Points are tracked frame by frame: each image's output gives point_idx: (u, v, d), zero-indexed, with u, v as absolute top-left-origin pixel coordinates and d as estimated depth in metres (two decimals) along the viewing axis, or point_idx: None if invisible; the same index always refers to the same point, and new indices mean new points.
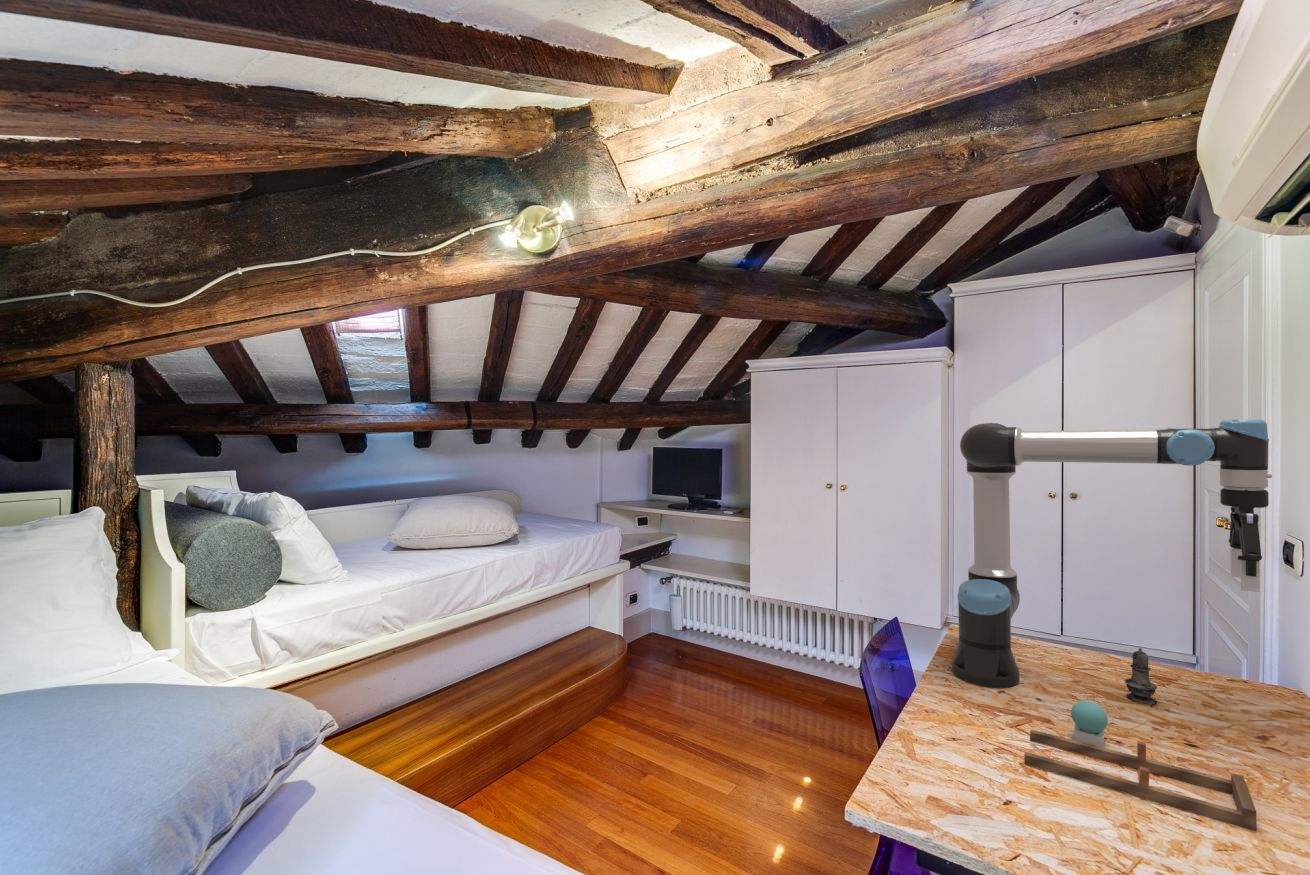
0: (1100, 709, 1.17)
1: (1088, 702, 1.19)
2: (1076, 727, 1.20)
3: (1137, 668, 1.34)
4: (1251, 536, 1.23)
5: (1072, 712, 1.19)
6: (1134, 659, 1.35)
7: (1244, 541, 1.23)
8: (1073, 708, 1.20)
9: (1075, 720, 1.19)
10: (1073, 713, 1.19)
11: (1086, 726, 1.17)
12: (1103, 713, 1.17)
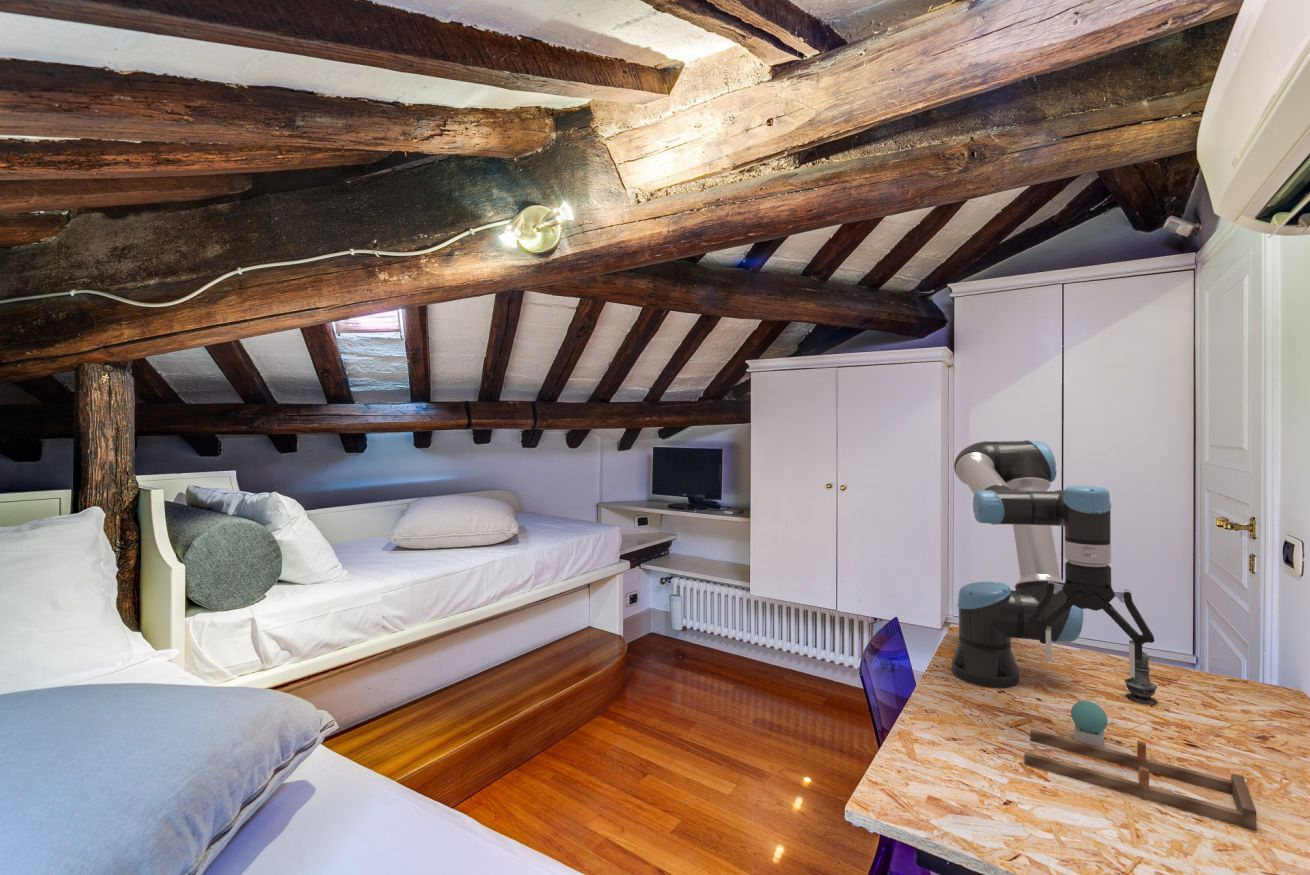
0: (1100, 709, 1.17)
1: (1088, 702, 1.19)
2: (1076, 727, 1.20)
3: (1137, 668, 1.34)
4: (1039, 602, 1.23)
5: (1072, 712, 1.19)
6: (1135, 659, 1.35)
7: None
8: (1073, 708, 1.20)
9: (1075, 720, 1.19)
10: (1073, 713, 1.19)
11: (1086, 726, 1.17)
12: (1103, 713, 1.17)
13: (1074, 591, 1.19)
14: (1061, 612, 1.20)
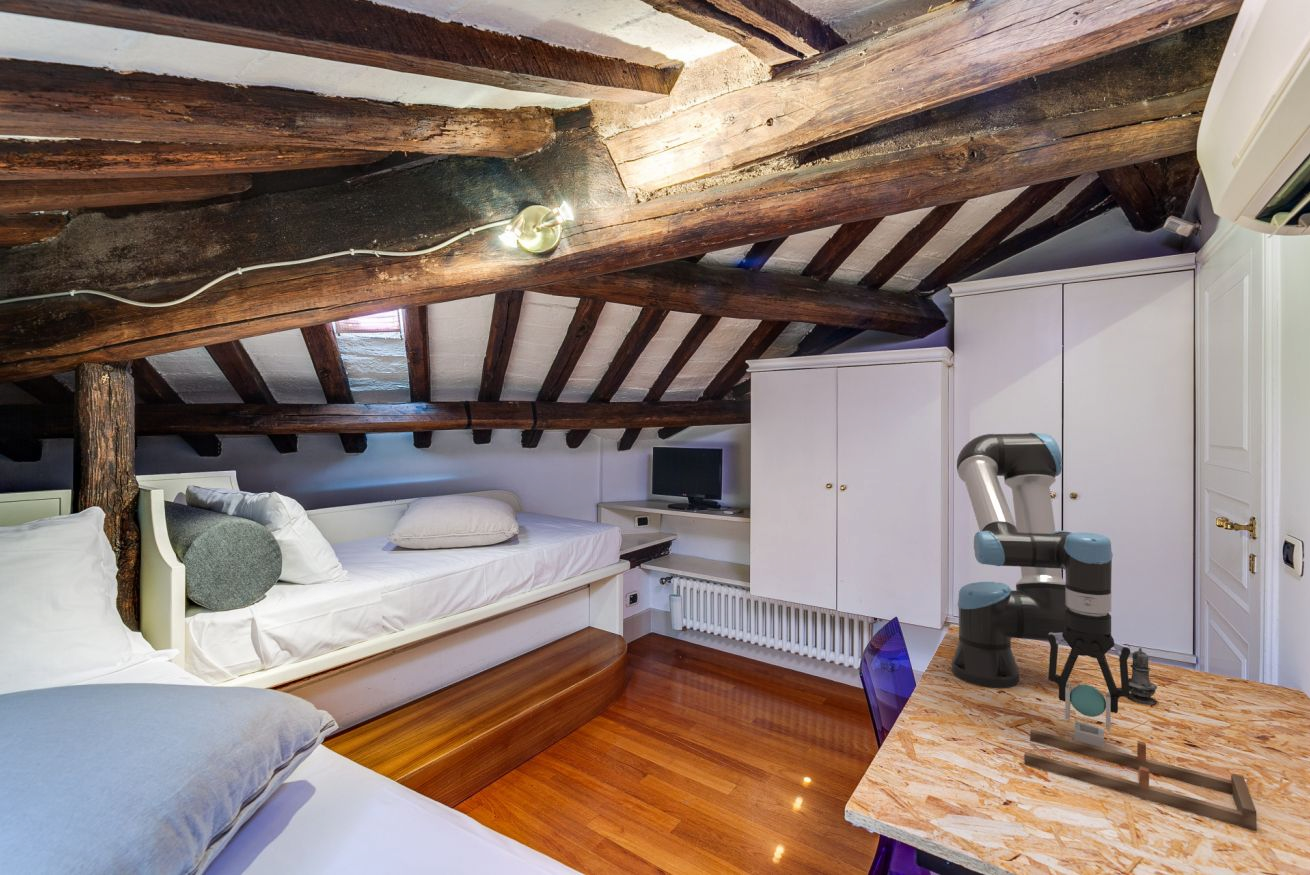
0: (1099, 693, 1.18)
1: (1087, 686, 1.19)
2: (1076, 727, 1.20)
3: (1137, 668, 1.34)
4: None
5: (1071, 696, 1.20)
6: (1134, 659, 1.35)
7: None
8: (1072, 692, 1.20)
9: (1074, 704, 1.19)
10: (1072, 697, 1.20)
11: (1085, 710, 1.17)
12: (1102, 697, 1.17)
13: (1074, 636, 1.19)
14: (1072, 664, 1.20)
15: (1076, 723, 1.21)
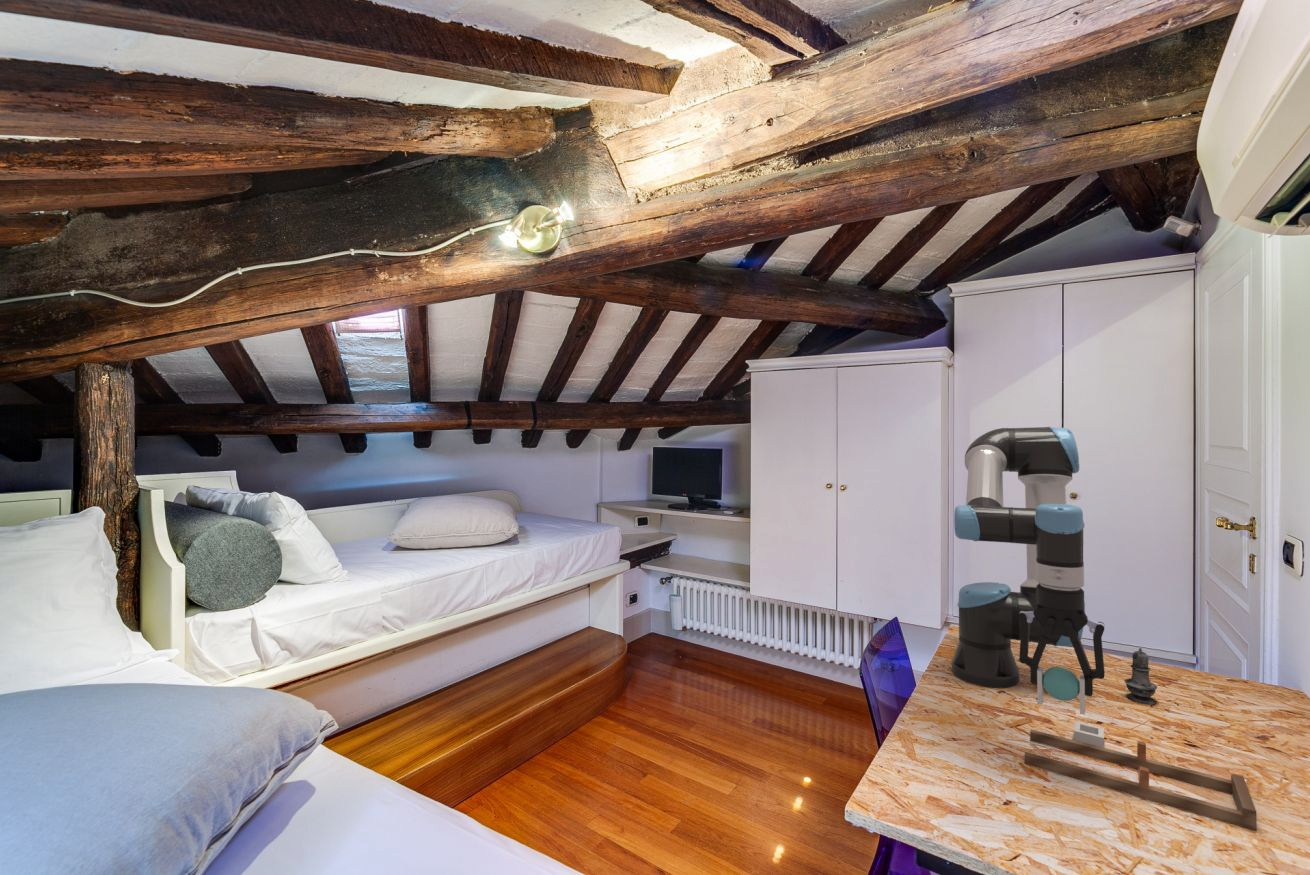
0: (1072, 675, 1.10)
1: (1060, 668, 1.11)
2: (1076, 727, 1.20)
3: (1137, 668, 1.34)
4: None
5: (1043, 679, 1.12)
6: (1134, 659, 1.35)
7: None
8: (1044, 674, 1.12)
9: (1046, 687, 1.11)
10: (1044, 680, 1.12)
11: (1057, 693, 1.09)
12: (1075, 679, 1.09)
13: (1045, 614, 1.12)
14: (1044, 644, 1.12)
15: (1076, 723, 1.21)
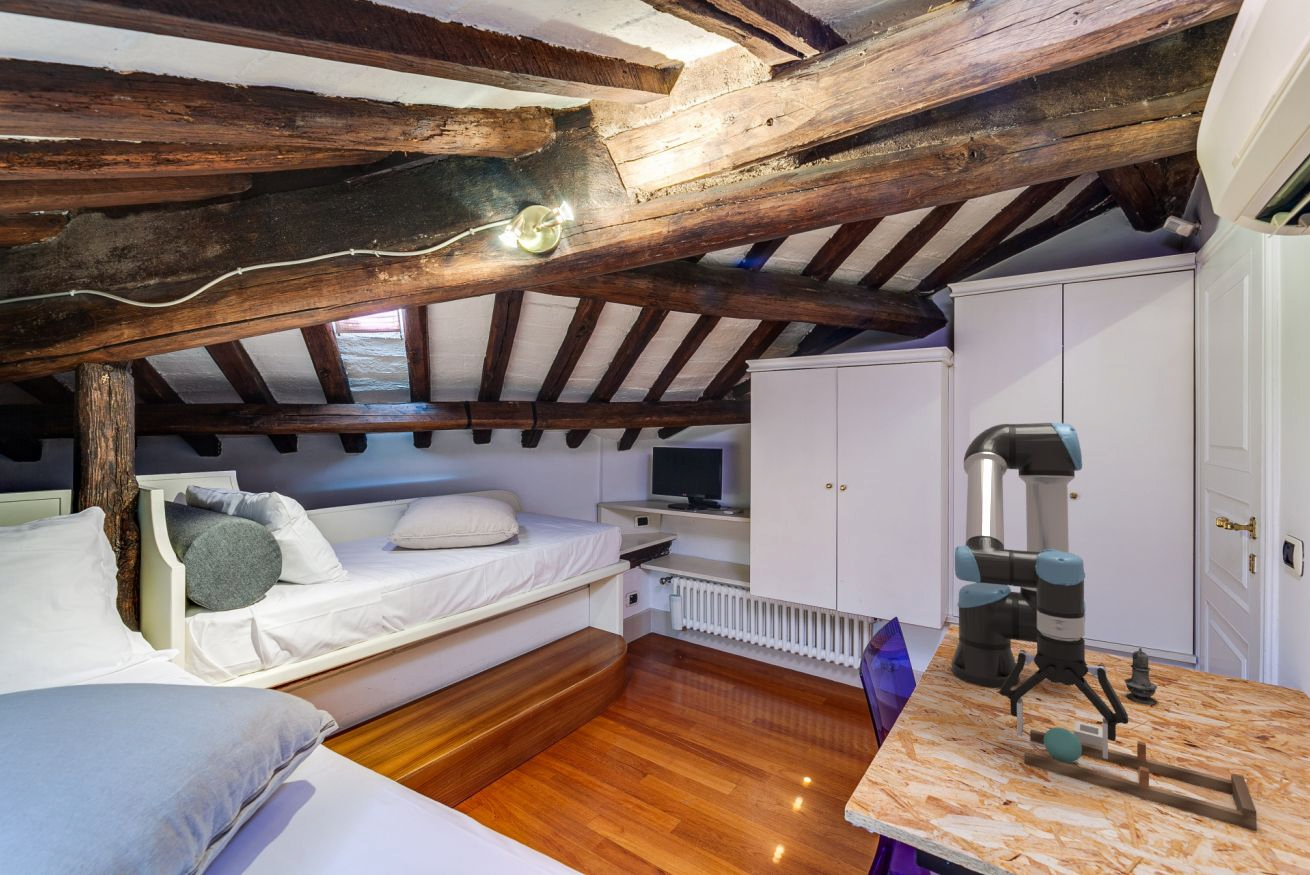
0: (1075, 738, 1.10)
1: (1062, 730, 1.11)
2: (1076, 727, 1.20)
3: (1137, 668, 1.34)
4: (1011, 672, 1.17)
5: (1045, 739, 1.12)
6: (1134, 659, 1.35)
7: None
8: (1046, 735, 1.12)
9: (1047, 748, 1.11)
10: (1046, 740, 1.12)
11: (1059, 756, 1.10)
12: (1077, 742, 1.09)
13: (1046, 664, 1.12)
14: (1033, 685, 1.14)
15: (1076, 723, 1.21)
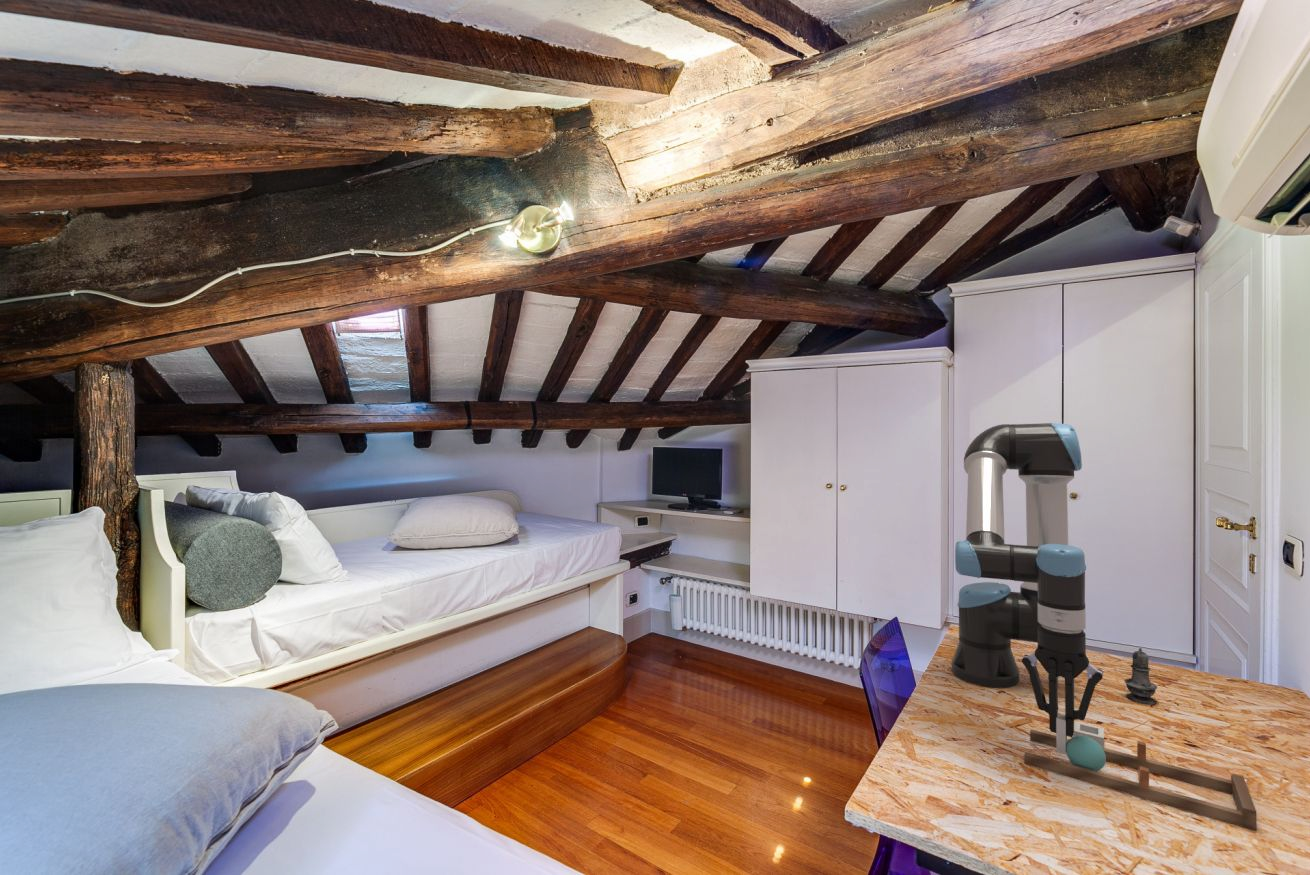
0: (1104, 764, 1.06)
1: (1101, 753, 1.06)
2: (1076, 727, 1.20)
3: (1137, 668, 1.34)
4: None
5: (1077, 744, 1.08)
6: (1134, 659, 1.35)
7: None
8: (1082, 743, 1.07)
9: (1071, 749, 1.08)
10: (1077, 746, 1.07)
11: (1074, 762, 1.08)
12: (1102, 767, 1.06)
13: (1046, 654, 1.12)
14: (1054, 689, 1.11)
15: (1076, 723, 1.21)
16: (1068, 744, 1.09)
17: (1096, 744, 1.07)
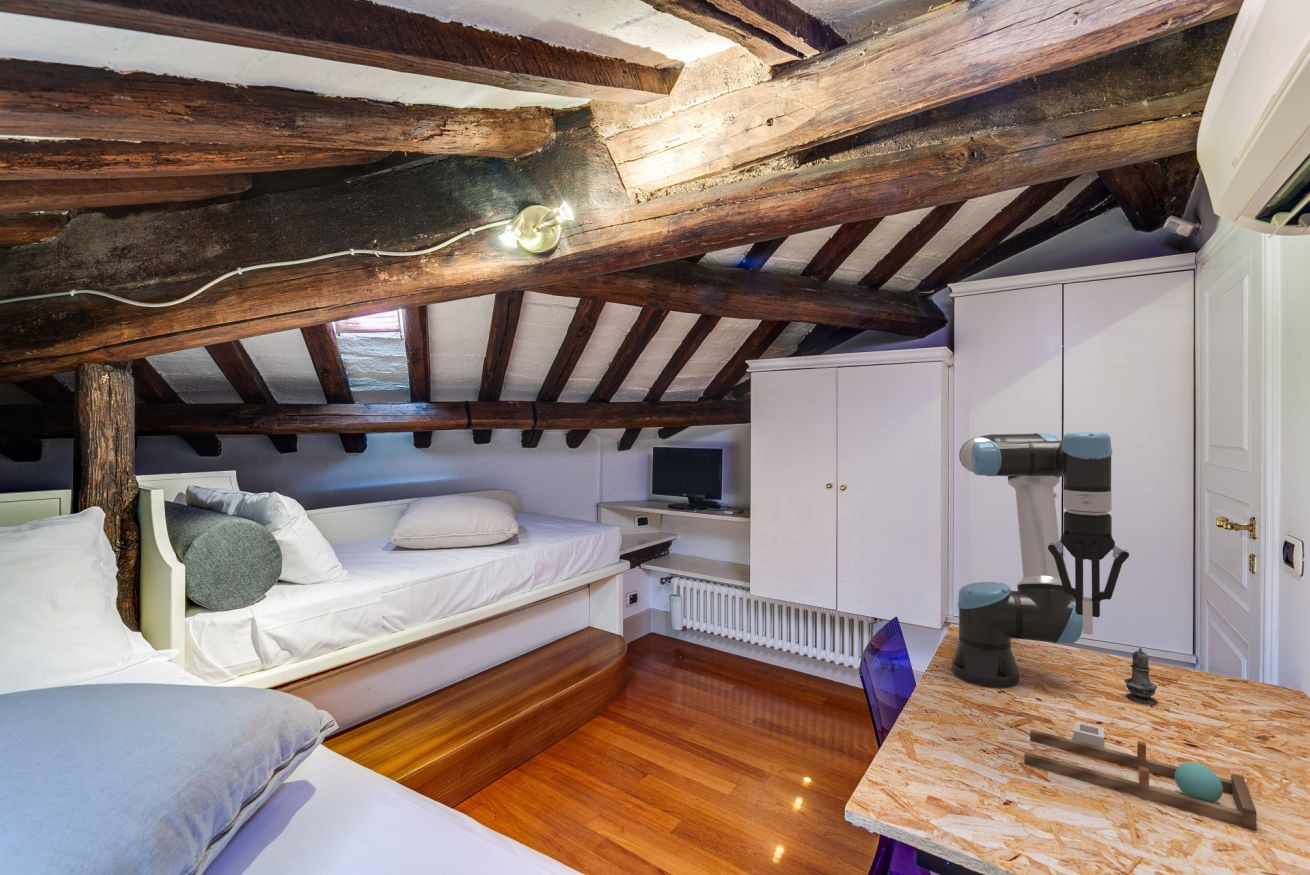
0: (1202, 768, 0.98)
1: (1186, 768, 0.99)
2: (1076, 727, 1.20)
3: (1137, 668, 1.34)
4: None
5: (1184, 791, 0.99)
6: (1134, 659, 1.35)
7: None
8: (1181, 785, 0.99)
9: (1195, 798, 0.98)
10: (1186, 792, 0.98)
11: (1211, 799, 0.96)
12: (1208, 770, 0.98)
13: (1072, 538, 1.14)
14: (1080, 571, 1.13)
15: (1076, 723, 1.21)
16: None
17: (1178, 770, 1.00)
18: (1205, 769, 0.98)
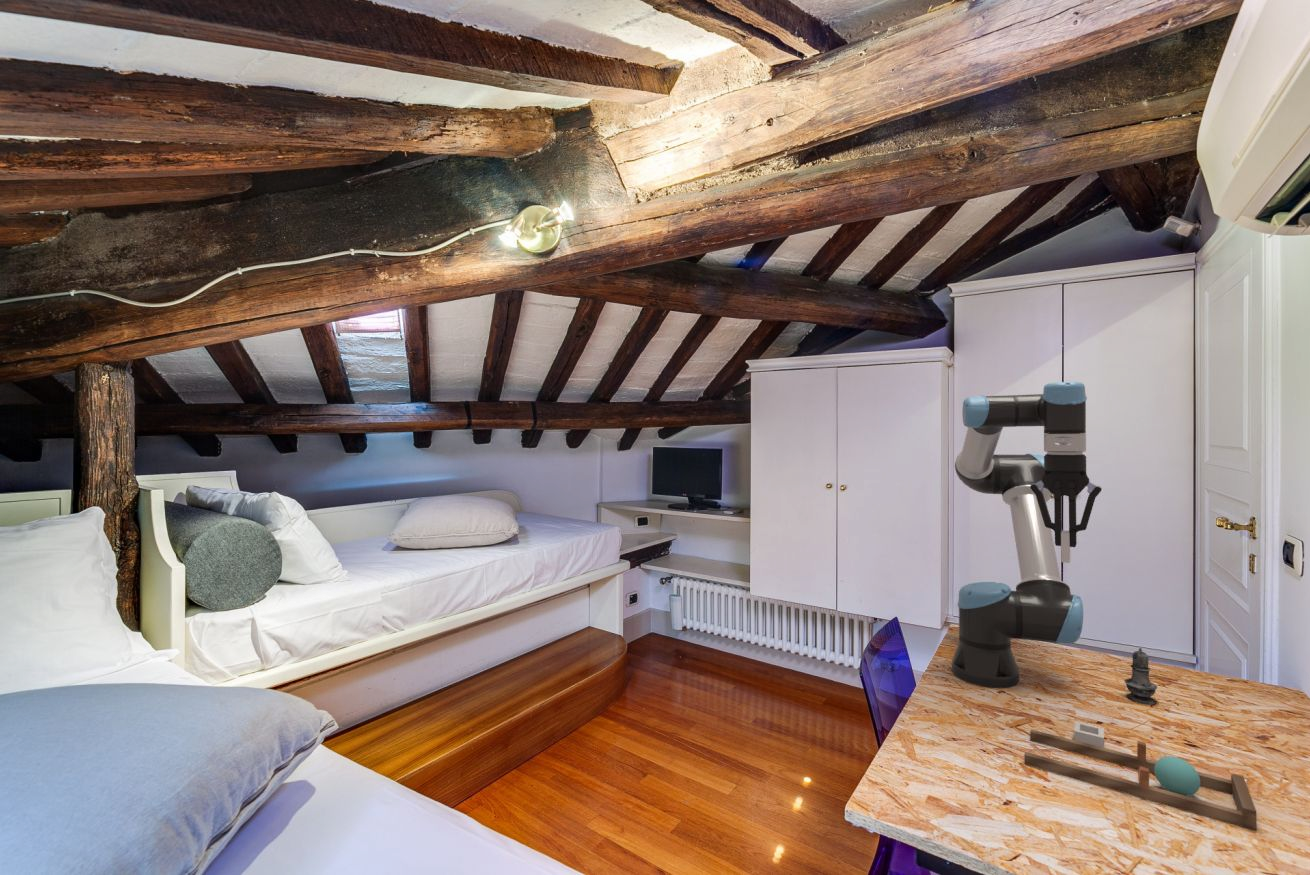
0: (1161, 760, 1.02)
1: (1155, 770, 1.02)
2: (1076, 727, 1.20)
3: (1137, 668, 1.34)
4: None
5: None
6: (1134, 659, 1.35)
7: None
8: (1169, 790, 1.00)
9: (1186, 793, 0.99)
10: (1176, 792, 0.99)
11: (1191, 783, 0.98)
12: (1166, 758, 1.02)
13: (1051, 477, 1.27)
14: (1059, 507, 1.26)
15: (1076, 723, 1.21)
16: (1188, 795, 0.99)
17: (1156, 777, 1.02)
18: (1164, 759, 1.02)
